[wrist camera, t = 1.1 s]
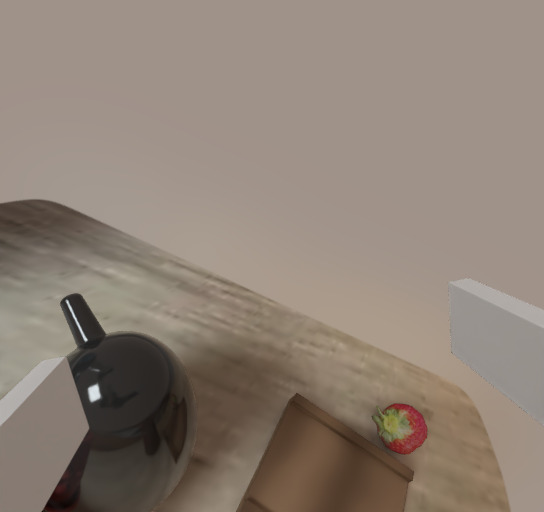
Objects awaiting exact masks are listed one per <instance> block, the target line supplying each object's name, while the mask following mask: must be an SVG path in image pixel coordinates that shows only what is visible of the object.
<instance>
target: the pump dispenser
mask: <svg viewBox="0 0 544 512" xmlns="http://www.w3.org/2000/svg"><path fill="white" fill-rule="evenodd" d="M60 306H61V308H62V310H63V313H64V315H65V318H66V320H67V323H68V325H69V327H70V330H71V332H72V335H73V337H74V340H75V342H76V345H77V348H76V349H75V350H74V351H72V352H71V353H70V354H68V355H67V356H66V357H67V360H68V363H69V367H70V370H71V373H72V376H73V379H74V382H75V385H76V388H77V391H78V394H79V397H80V401H81V404H82V407H83V410H84V413H85V416H86V419H87V422H88V425H89V430H88V432H87V433H86V435H85V437H84V439H83V440H82V442H81V444H80V446H79V447H78V449H77V451H76V452H75V454H74V456H73V458H72V459H71V461H70V463H69V465H68V466H67V468H66V470H65V472H64V473H63V475H62V477H61V479H60V480H59V482H58V484H57V486H56V487H55V489H54V491H53V493H52V494H51V496H50V498H49V500H48V501H47V503H46V505H45V507H44V509H45V511H46V512H151V511H152V510H154V509H155V508H156V507H157V506H159V505H160V504H161V503H162V502H163V501H164V500H165V499H166V498H167V497H168V496H169V495H170V494H171V492H172V491H173V490H174V489H175V487H176V486H177V484H178V483H179V481H180V480H181V478H182V477H183V475H184V473H185V471H186V469H187V467H188V465H189V463H190V460H191V457H192V454H193V451H194V447H195V443H196V437H197V426H198V412H197V403H196V398H195V393H194V390H193V387H192V384H191V381H190V379H189V376H188V374H187V372H186V370H185V368H184V366H183V364H182V363H181V361H180V360H179V358H178V357H177V356H176V354H175V353H174V352H173V351H172V350H171V349H170V348H169V347H168V346H166V345H165V344H164V343H162V342H161V341H159V340H158V339H156V338H154V337H152V336H149V335H147V334H143V333H139V332H134V331H117V332H113V333H109V334H106V333H105V331H104V330H103V328H102V327H101V325H100V324H99V322H98V321H97V319H96V317H95V316H94V314H93V313H92V311H91V309H90V308H89V306H88V305H87V303H86V301H85V300H84V298H83V297H82V295H81V294H78V293H74V294H70V295H68V296H66V297H64V298H63V299H62V300H61V302H60Z"/></svg>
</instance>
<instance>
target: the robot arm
mask: <svg viewBox="0 0 544 512" xmlns="http://www.w3.org/2000/svg"><path fill="white" fill-rule="evenodd" d="M448 289H449V312H450V333H451V353H452V354H454V355H455V356H456V357H457V358H459V359H460V360H461V361H463V362H464V363H465V364H466V365H468V366H469V367H470V368H471V369H473V370H474V371H475V372H476V373H478V374H479V375H480V376H481V377H483V378H484V379H485V380H486V381H488V382H489V383H490V384H491V385H493V386H494V387H495V388H496V389H498V390H499V391H500V392H501V393H503V394H504V395H505V396H506V397H508V398H509V399H510V400H512V401H513V402H514V403H515V404H516V405H518V406H519V407H520V408H521V409H523V410H524V411H525V412H526V413H528V414H529V415H530V416H532V417H533V418H534V419H535V420H537V421H538V422H539V423H541V424H542V425H543V426H544V310H543V309H540V308H538V307H535V306H533V305H531V304H528V303H526V302H524V301H521V300H519V299H517V298H514V297H512V296H510V295H507V294H504V293H502V292H500V291H498V290H495V289H493V288H490V287H488V286H486V285H484V284H481V283H479V282H476V281H474V280H472V279H469V278H467V279H462V280H457V281H451V282H448ZM88 430H89V425H88V422H87V419H86V416H85V413H84V410H83V407H82V404H81V401H80V397H79V394H78V391H77V388H76V385H75V382H74V379H73V376H72V373H71V370H70V367H69V363H68V360H67V357H66V356H64V357H59V358H54V359H48V360H43V361H41V362H40V363H39V364H38V365H37V366H36V367H35V368H34V369H33V370H32V371H31V372H30V373H29V374H28V375H27V376H26V377H24V378H23V379H22V380H21V381H20V382H19V383H18V384H17V385H16V386H15V387H14V388H13V389H12V390H11V391H10V392H9V393H8V394H7V395H6V396H5V397H4V398H3V399H2V400H0V512H42V510H43V508H44V507H45V505H46V503H47V501H48V500H49V498H50V496H51V494H52V493H53V491H54V489H55V487H56V486H57V484H58V482H59V480H60V479H61V477H62V475H63V473H64V472H65V470H66V468H67V466H68V465H69V463H70V461H71V459H72V458H73V456H74V454H75V452H76V451H77V449H78V447H79V446H80V444H81V442H82V440H83V439H84V437H85V435H86V433H87V432H88Z"/></svg>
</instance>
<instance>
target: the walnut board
mask: <svg viewBox="0 0 544 512" xmlns="http://www.w3.org/2000/svg"><path fill="white" fill-rule="evenodd" d="M413 475H414V471H412V470H411V469H409V468H408V467H406V466H405V465H403V464H402V463H400V462H399V461H397V460H396V459H394V458H393V457H391V456H390V455H388V454H387V453H385V452H384V451H383V450H381V449H380V448H378V447H377V446H375V445H374V444H372V443H371V442H369V441H368V440H366V439H365V438H363V437H362V436H360V435H359V434H357V433H356V432H354V431H353V430H351V429H350V428H348V427H347V426H345V425H344V424H342V423H341V422H339V421H338V420H336V419H335V418H333V417H332V416H330V415H329V414H327V413H326V412H324V411H323V410H321V409H320V408H318V407H317V406H315V405H314V404H313V403H311V402H310V401H308V400H307V399H305V398H304V397H302V396H301V395H299V394H298V393H296V394H295V395H294V396H293V397H292V398H291V399H290V400H289V402H288V405H287V407H286V409H285V411H284V413H283V415H282V417H281V419H280V421H279V423H278V425H277V428H276V430H275V432H274V434H273V436H272V438H271V440H270V442H269V444H268V446H267V448H266V450H265V453H264V455H263V457H262V459H261V461H260V463H259V465H258V467H257V469H256V471H255V473H254V475H253V478H252V480H251V482H250V484H249V486H248V488H247V490H246V492H245V494H244V496H243V498H242V501H241V503H240V505H239V507H238V509H237V511H236V512H403V511H404V505H405V499H406V493H407V488H408V482H411V481H413Z"/></svg>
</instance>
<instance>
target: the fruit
mask: <svg viewBox="0 0 544 512" xmlns="http://www.w3.org/2000/svg"><path fill="white" fill-rule="evenodd" d="M376 407H377V410H378V412H379V415H380V417H379V416H377V415H376V416H375V415H373V416H372V419H373V420H374V422H375V423H376V425H377V430H378V434H379V437H380V438H381V439H382V441H383V443H384V444H385V446H386V447H387V448H389V449H390V450H392V451H394V452H397V453H400V454H404V455H405V454H410V453H411V452H413V451H414V450H415V449H416V448H418V447H420V446H421V445H422V444H423V442H424V440H425V439H426V438H427V426H426V424H425V421H424V418H423V416H422V415H421V413H419V412H418V411H417V410H416V409H414V408H413V407H412V406H409V405H406V404H393V405H391V406H389V407H387V408H386V409H385V410H384V411H383V413H382V412H381V411H380V409H379V407H378V406H376Z"/></svg>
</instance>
